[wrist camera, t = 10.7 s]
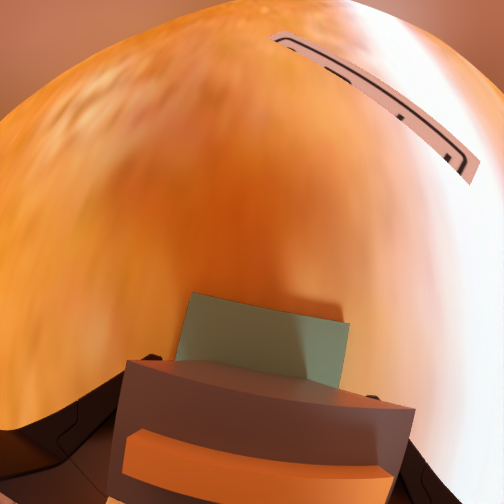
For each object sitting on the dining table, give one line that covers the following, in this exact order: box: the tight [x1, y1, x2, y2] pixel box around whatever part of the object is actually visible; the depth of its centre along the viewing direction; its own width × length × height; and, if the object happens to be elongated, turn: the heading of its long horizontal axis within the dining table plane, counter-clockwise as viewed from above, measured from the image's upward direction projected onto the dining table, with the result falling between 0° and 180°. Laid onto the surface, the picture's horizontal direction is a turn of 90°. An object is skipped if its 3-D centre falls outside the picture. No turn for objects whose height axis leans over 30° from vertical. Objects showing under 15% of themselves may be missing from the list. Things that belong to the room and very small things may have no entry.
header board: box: [175, 292, 350, 388], centre depth 15 cm, size 11×10×4 cm
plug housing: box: [106, 360, 416, 504], centre depth 10 cm, size 3×6×13 cm, turn 78°
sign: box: [267, 30, 480, 185], centre depth 26 cm, size 12×1×30 cm
